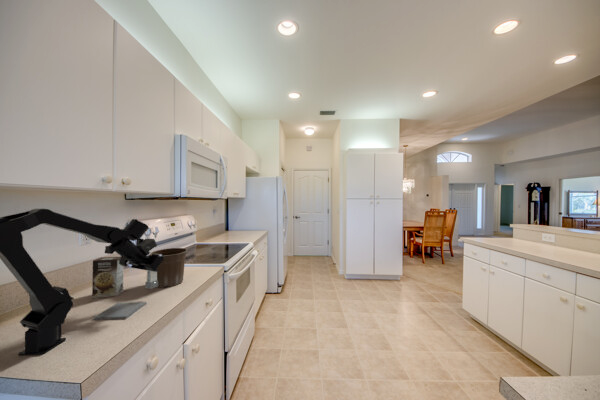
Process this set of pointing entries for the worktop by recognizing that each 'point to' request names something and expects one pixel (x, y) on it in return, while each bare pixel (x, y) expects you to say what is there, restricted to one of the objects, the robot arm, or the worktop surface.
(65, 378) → the worktop surface
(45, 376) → the worktop surface
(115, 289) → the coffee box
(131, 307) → the plate
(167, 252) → the plant pot
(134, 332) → the worktop surface
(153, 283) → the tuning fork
